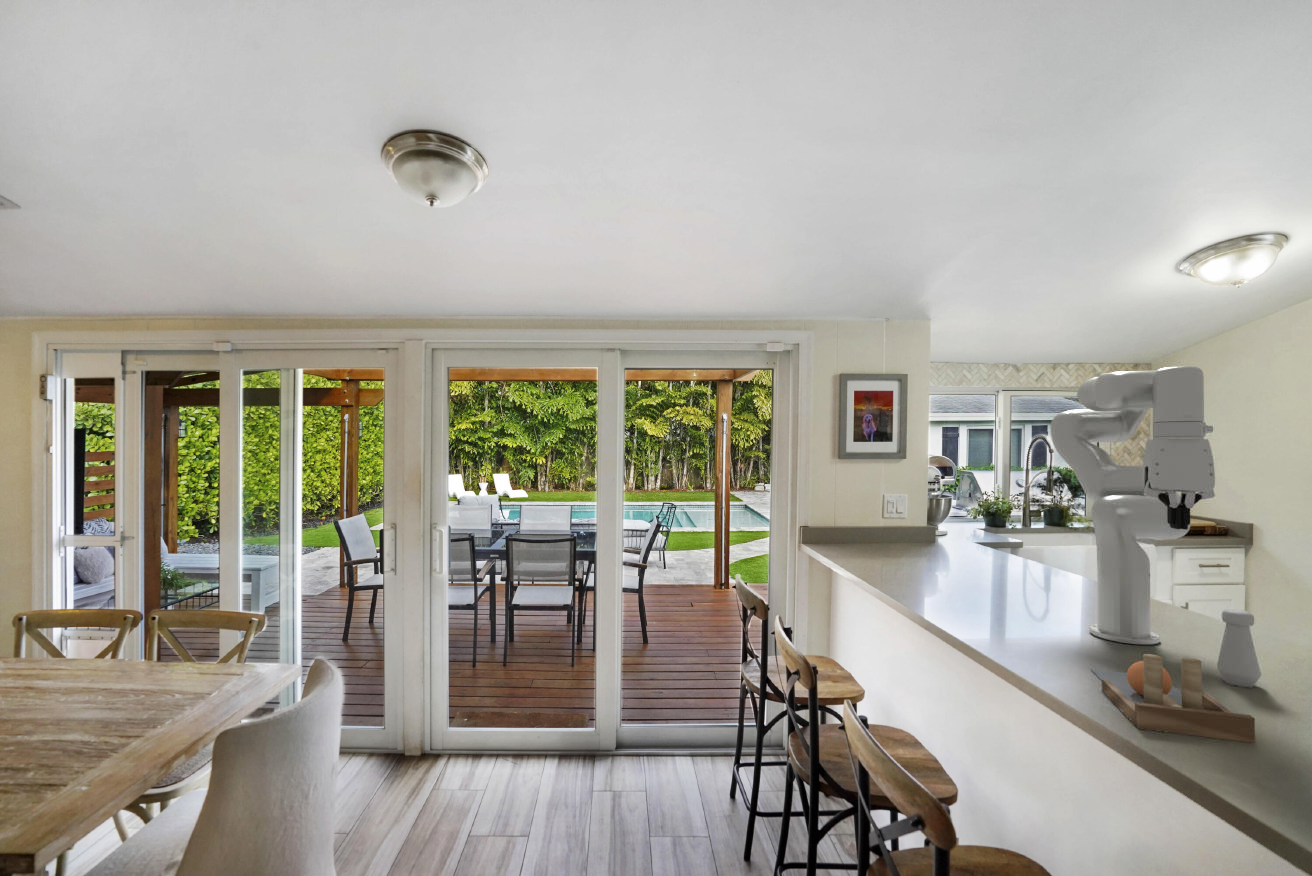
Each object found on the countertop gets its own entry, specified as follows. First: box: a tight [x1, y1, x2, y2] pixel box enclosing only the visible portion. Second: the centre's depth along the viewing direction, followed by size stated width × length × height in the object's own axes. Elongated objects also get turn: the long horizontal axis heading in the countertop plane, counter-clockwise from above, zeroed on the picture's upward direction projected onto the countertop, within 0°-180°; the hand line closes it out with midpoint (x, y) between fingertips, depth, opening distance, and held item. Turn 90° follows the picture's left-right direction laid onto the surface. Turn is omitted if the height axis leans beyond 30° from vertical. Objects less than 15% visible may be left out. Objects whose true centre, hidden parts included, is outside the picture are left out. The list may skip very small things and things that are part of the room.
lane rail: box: [1101, 679, 1256, 744], centre depth 100 cm, size 16×14×4 cm
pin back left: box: [1180, 656, 1203, 710], centre depth 98 cm, size 2×2×9 cm
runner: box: [1090, 668, 1204, 710], centre depth 105 cm, size 26×11×1 cm, turn 161°
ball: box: [1126, 660, 1173, 696], centre depth 106 cm, size 6×6×6 cm
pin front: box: [1163, 694, 1181, 707], centre depth 98 cm, size 2×2×9 cm
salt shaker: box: [1216, 608, 1262, 688], centre depth 113 cm, size 6×6×13 cm
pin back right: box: [1142, 653, 1164, 705], centre depth 100 cm, size 2×2×9 cm
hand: (1178, 528), depth 119 cm, fingers closed
